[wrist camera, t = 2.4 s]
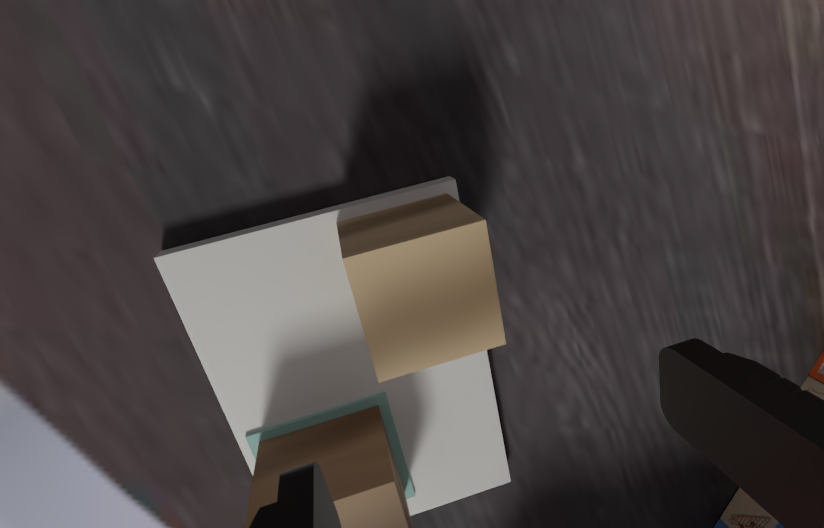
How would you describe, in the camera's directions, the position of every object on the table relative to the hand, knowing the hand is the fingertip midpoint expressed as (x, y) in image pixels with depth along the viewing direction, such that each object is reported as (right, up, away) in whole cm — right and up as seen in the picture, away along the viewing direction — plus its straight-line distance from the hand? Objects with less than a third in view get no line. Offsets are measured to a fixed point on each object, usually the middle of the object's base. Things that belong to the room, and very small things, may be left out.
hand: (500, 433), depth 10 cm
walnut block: (-6, -7, +13) cm, 16 cm away
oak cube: (-2, +4, +11) cm, 12 cm away
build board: (-5, -2, +13) cm, 14 cm away
